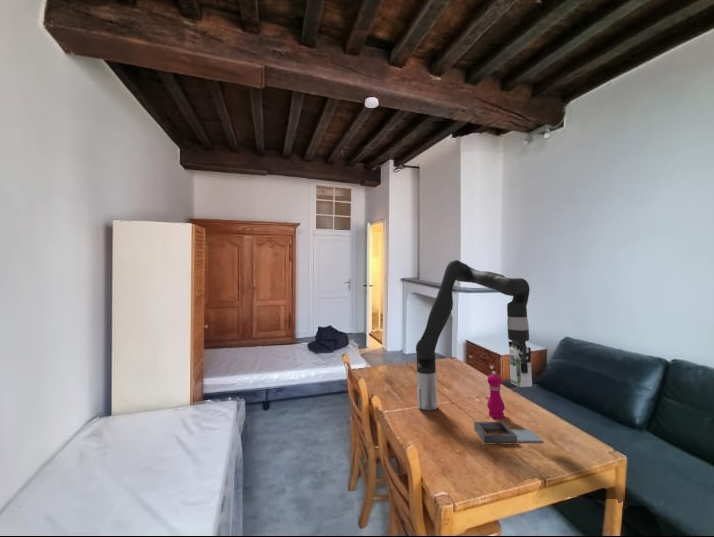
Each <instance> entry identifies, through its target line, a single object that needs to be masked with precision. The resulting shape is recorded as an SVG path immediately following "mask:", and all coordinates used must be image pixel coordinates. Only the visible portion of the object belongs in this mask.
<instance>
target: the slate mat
mask: <svg viewBox="0 0 714 537" xmlns="http://www.w3.org/2000/svg"><path fill="white" fill-rule="evenodd" d="M511 430H512V431H513V432H514V433H515V434H516V436H517V442H518V441H523V442H522V443H544V440H543V439H542V438H541V437H539V435H537V434H536V433H535V431H533V430H532V429H511ZM541 441H542V442H541Z"/></svg>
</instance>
